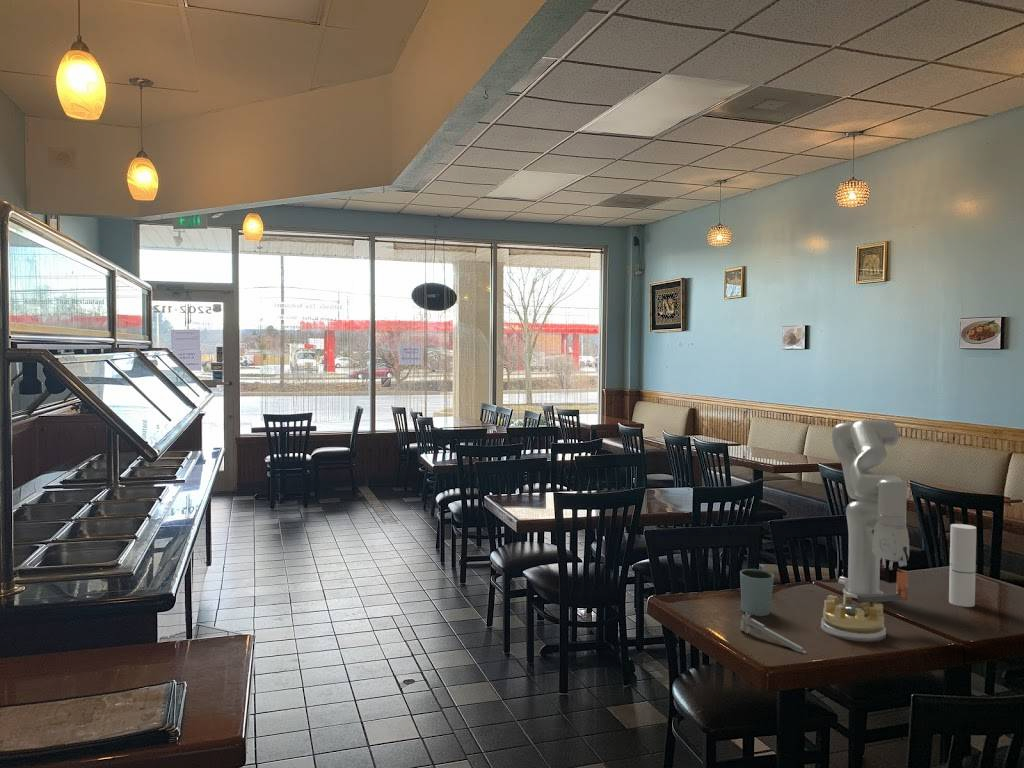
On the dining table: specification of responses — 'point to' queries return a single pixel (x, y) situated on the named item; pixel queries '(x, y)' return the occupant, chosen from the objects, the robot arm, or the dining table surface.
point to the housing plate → (853, 634)
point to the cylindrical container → (962, 565)
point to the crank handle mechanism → (863, 608)
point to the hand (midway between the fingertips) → (890, 581)
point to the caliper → (767, 632)
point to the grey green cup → (756, 591)
